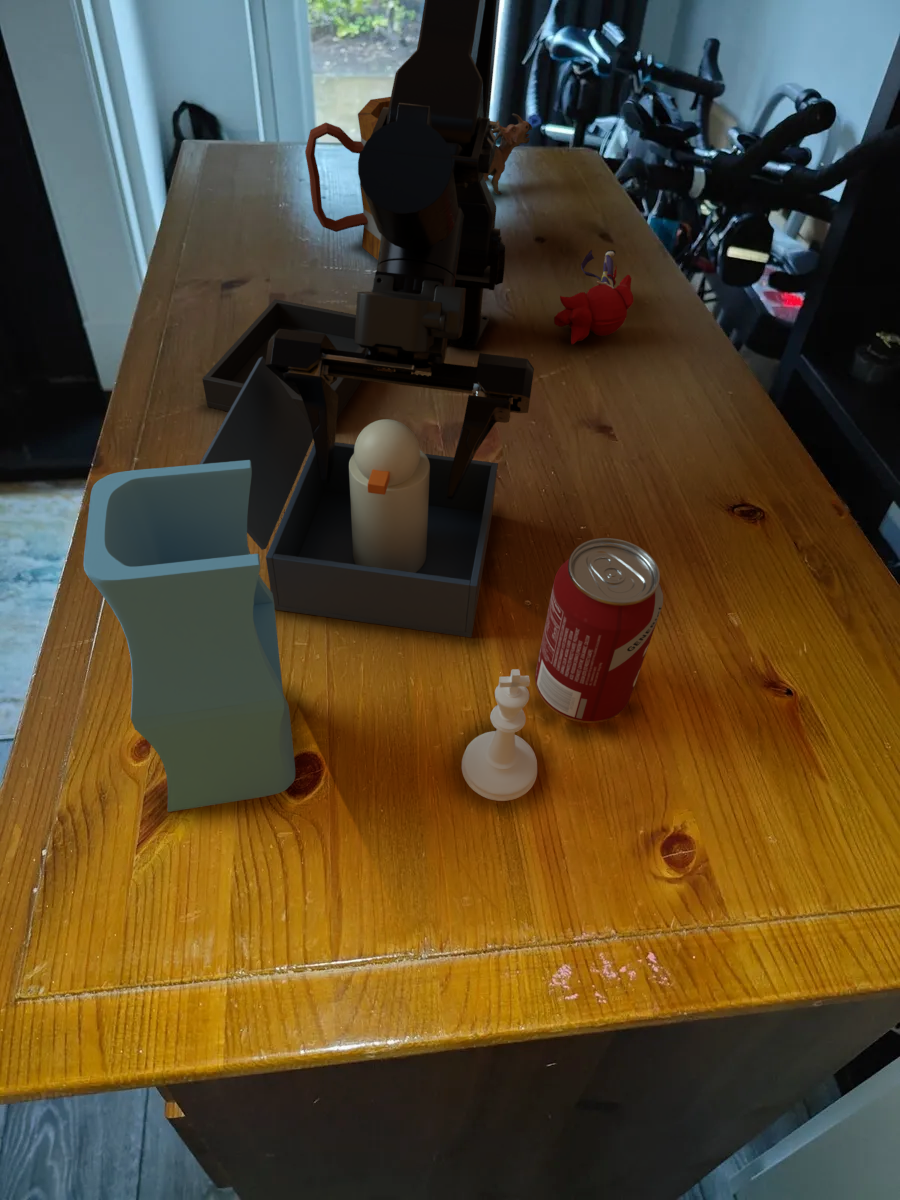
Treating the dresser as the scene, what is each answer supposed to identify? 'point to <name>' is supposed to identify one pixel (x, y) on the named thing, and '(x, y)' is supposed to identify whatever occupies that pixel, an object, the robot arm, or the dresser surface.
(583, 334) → the figurine
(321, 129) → the mug
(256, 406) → the flap
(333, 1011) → the dresser surface
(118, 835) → the dresser surface
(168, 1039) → the dresser surface
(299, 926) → the dresser surface
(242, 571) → the vase
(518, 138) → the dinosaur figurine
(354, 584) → the dark square open box
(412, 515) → the duck
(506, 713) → the chess piece
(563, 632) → the soda can
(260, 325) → the tray
